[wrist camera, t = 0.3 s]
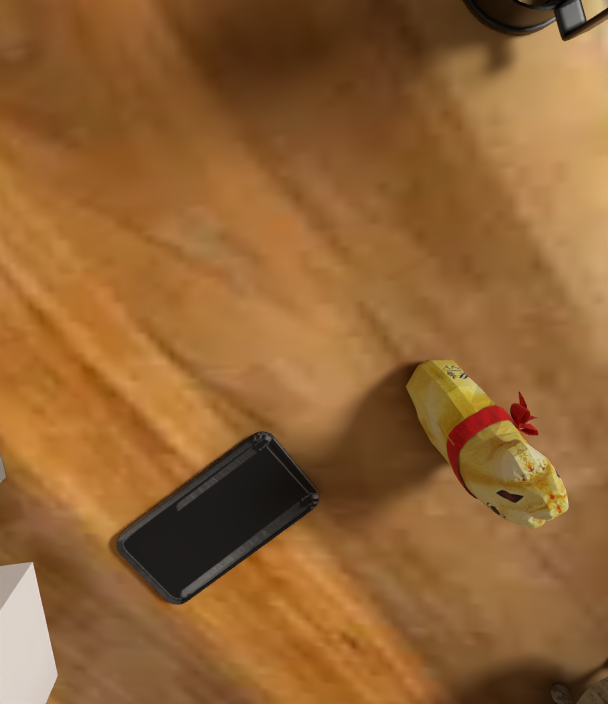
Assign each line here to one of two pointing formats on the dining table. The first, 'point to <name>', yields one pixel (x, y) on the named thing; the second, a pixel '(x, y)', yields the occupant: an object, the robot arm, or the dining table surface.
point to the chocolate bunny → (486, 445)
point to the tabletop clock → (598, 700)
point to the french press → (534, 16)
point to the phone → (218, 518)
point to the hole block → (2, 471)
